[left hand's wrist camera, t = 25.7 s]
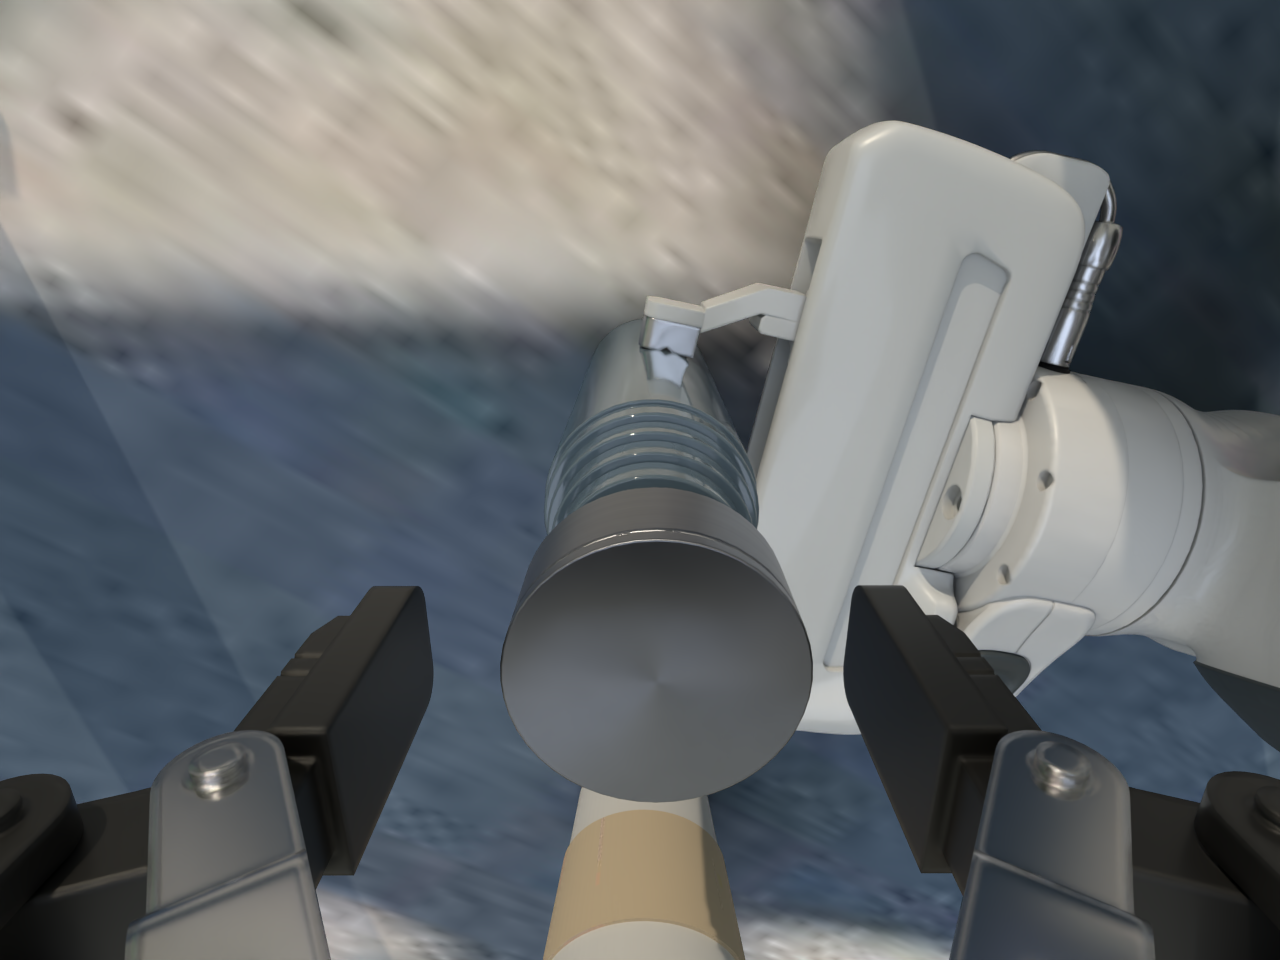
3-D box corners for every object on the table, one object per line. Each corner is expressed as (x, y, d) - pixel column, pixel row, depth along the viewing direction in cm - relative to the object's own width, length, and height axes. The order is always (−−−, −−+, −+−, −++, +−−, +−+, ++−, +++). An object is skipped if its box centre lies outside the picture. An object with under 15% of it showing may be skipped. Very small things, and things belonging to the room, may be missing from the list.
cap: (823, 522, 11) (859, 581, 9) (740, 738, 13) (757, 828, 11) (553, 455, 11) (534, 504, 9) (500, 686, 12) (474, 770, 11)
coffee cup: (714, 872, 39) (754, 1236, 25) (553, 857, 39) (502, 1219, 25) (740, 742, 36) (803, 1075, 22) (565, 726, 36) (515, 1053, 22)
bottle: (684, 301, 29) (767, 453, 10) (721, 412, 30) (852, 731, 11) (571, 342, 29) (438, 561, 10) (612, 449, 31) (564, 811, 12)
